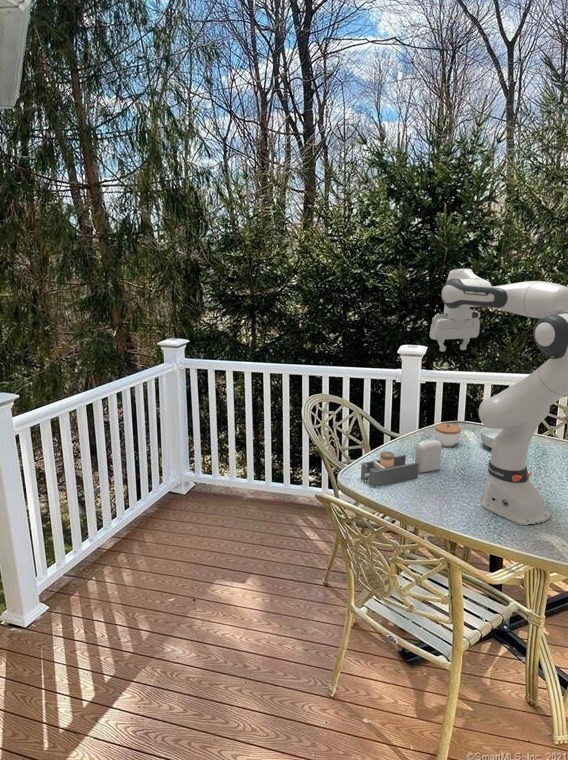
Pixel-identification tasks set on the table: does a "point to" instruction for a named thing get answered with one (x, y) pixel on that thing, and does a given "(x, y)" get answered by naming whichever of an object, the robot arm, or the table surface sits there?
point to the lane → (390, 472)
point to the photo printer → (428, 455)
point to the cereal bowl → (489, 435)
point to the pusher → (376, 468)
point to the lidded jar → (447, 434)
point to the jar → (387, 459)
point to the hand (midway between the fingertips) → (452, 350)
